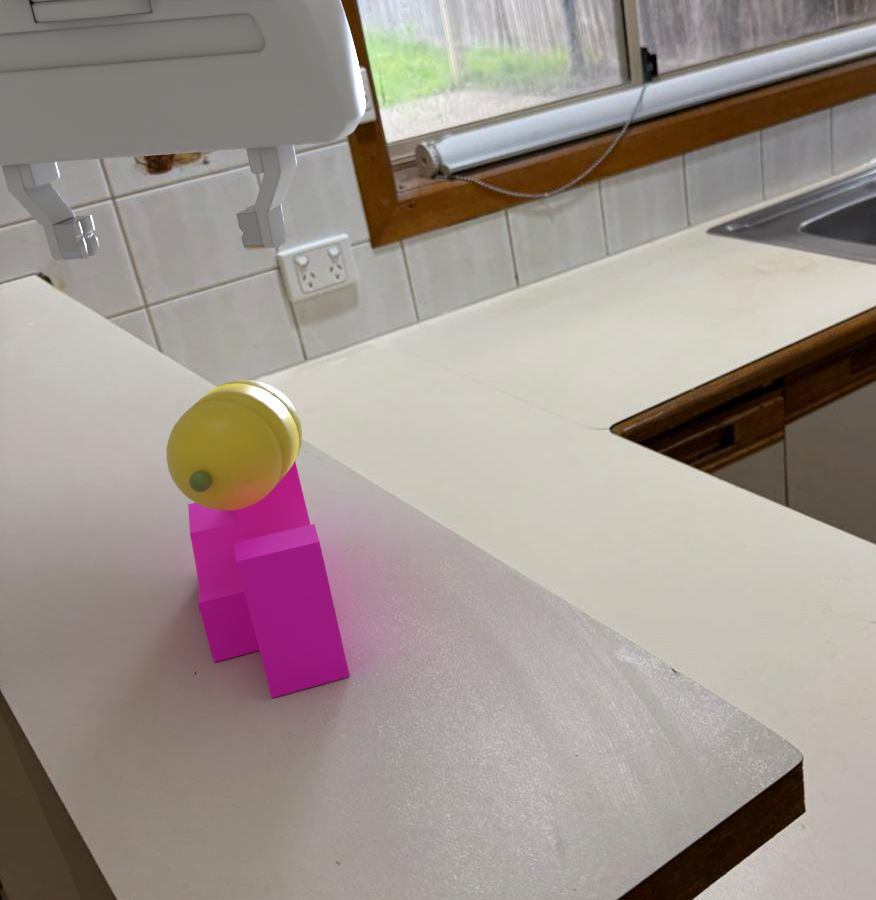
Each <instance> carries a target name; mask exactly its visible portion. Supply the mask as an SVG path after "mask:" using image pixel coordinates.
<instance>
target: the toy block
mask: <svg viewBox="0 0 876 900" xmlns="http://www.w3.org/2000/svg"><path fill="white" fill-rule="evenodd" d="M187 506H188V507H187V509H188V524H189V536H190V541H191V546H192V551H193V557H194V558H193V559H194V563H195V569H196V575H197V582H198V583H197V584H198V602H197V606H198V609H199V610H198V611H199V613H200V618H201V621H202V624H203V628H204V632H205V635H206V638H207V643H208V645H209V649H210V653H211V656H212V661H213V663H217V662H221V661H225V660H229V659H233V658H237V657H240V656H245V655H248V654H251V653H255V652H259V655H260V658H261V662H262V665H263V669H264V670H263V671H264V673H265V677H266V681H267V684H268V685H267V686H268V689H269V692H270V697H271V699H273V698H277V697H281V696H284V695H288V694H291V693H295V692H299V691H302V690H306V689H309V688H313V687H317V686H322V685H324V684H328V683H332V682H335V681H339V680H342V679H346V678H349V677H351V676H350V671H349V667H348V663H347V658H346V653H345V649H344V644H343V640H342V636H341V630H340V627H339V622H338V617H337V612H336V608H335V605H334V600H333V595H332V590H331V587H330V581H329V577H328V574H327V568H326V565H325V560H324V556H323V551H322V547H321V541H320V538H319V535H318V532H317V529H316V528H317V527H316V525H315V523H313V524H311V521H310V517H309V513H308V509H307V505H306V500H305V496H304V493H303V488H302V484H301V479H300V476H299V471H298V467H297V463H296V461H295V462H294V464H293V465H292V467H291V468H290V469H289V471H288V472H287V473H286V474H285V475H284V477H283V478H282V479H281V480H280V481H279V483H278V484H277V485H276V486H275V487H274V489H273V490H272V491H271V492H270V493H269V494H268V495H267V496H265V497H264V498H263V499H261V500H260V501H259V502H257V503H255V504H253V505H250V506H248V507H245V508H243V509H238V510H232V511H230V510H214V509H209V508H206V507H203V506H201V505H199V504H197V503H195V502H192V503H188V504H187Z"/></svg>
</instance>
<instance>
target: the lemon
mask: <svg viewBox="0 0 876 900" xmlns="http://www.w3.org/2000/svg"><path fill="white" fill-rule="evenodd" d="M302 440H303V426H302V421H301V419H300V415H299V413H298V411H297V410H296V408H295V406H294V404H293V403H292V401H290V399H289V398H288V397H287V396H286V395H285V394H284V393H282V392H281V391H280V390H278V389H277V388H275V387H274V386H273V385H269V384H267V383H264V382H261V381H258V380H253V379H238V380H233V381H228V382H225V383H221V384H220V385H218V386H216V387H214V388H212V389H210V390H209V391H208V392H207V393H206V394H205V395H203V396H202V397H201V398H200V399H199V400H198V401H196V402H195V403H194V404H193V405H192V406H190V407H189V408H188V410H186V411H184V413H183V414H182V415H181V416H180V417H179V418H178V419H177V421H176V423H174V425H173V426H172V429H171V431H170V434H169V437H168V440H167V445H166V450H165V451H166V452H165V453H166V463H167V468H168V472H169V475H170V477H171V479H172V482H174V484H175V486H176V487H177V489H178V490H179V491H180V492H181V493H182V494H183V495H184V496H185V497H186V498H188V499H189V500H190V501H192V503H197V504H199V505H201V506H203V507H206V508H209V509H214V510H230V511H232V510H238V509H243V508H245V507H248V506H250V505H253V504H255V503H257V502H259V501H260V500H261V499H263V498H264V497H265V496H267V495H268V494H269V493H270V492H271V491H272V490H273V489H274V487H275V486H276V485H277V484H278V483H279V481H280V480H281V479H282V478H283V477H284V475H285V474H286V473H287V472H288V471H289V469H290V468H291V467H292V465H293V464H294V462H296V460H297V458H298V456H299V454H300V451H301V447H302Z"/></svg>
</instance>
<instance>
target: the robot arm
mask: <svg viewBox="0 0 876 900" xmlns="http://www.w3.org/2000/svg"><path fill="white" fill-rule="evenodd" d="M343 6H344V5H343V4H342V0H0V167H1V169H2V173H3V176H4V180H5V184H6V186H7V190H8V192H9V193H10V194H11V195H12V196H13V197H14V198H15V199H16V201H18V203H19V204H20V205H21V206H22V207H23V208H24V209H25V211H27V212H28V214H29V215H30V216H31V217H32V218H33V219H34V220H35V221H36V222H37V223H38V225H40V226H42V227H43V230H44V234H45V238H46V240H47V245H48V247H49V251H50V255H51V257H52V258H53V260H54V261H56V262H57V261H59V262H60V261H62V262H64V261H65V262H66V261H75V260H76V261H77V260H86V259H89V258H90V257H92V256H95V255H97V254H98V253H99V249H100V244H99V240H98V237H97V236H96V235H95V234H94V233H95V230H96V227H95V224H94V220H93V216H92V215H76V214H75V213H74V211H73V210H72V209H71V207H70V206H69V205H68V203H67V202H66V201H65V200H64V198H63V197H62V196H61V194H60V193H59V192H58V190H57V189H56V188H55V187H54V185H53V184H52V183H53V182H56V181H58V180H59V179H60V178H61V175H60V171H59V168H58V164H57V163H63V162H75V161H76V162H77V161H78V162H79V161H89V160H91V161H92V160H105V159H106V160H107V159H119V158H120V159H121V158H134V157H135V158H136V157H149V156H161V155H177V154H191V153H205V152H206V153H207V152H220V151H233V150H245V151H246V155H247V159H248V164H249V169H250V172H251V173H252V174H253V175H256V174H257V175H259V174H263V177H262V180H261V184H260V187H259V190H258V193H257V196H256V200H255V204H254V205H249V206H248V207H246V208H245V209H243V210H240V211H239V212H237V213H236V219H237V224H238V229H239V230H240V231H242V235H241V243H242V245H243V248H244V249H245V250H246V251H252V250H270V249H271V250H272V249H273V250H275V249H278V248H279V247H281V246H283V245H284V244H286V241H287V229H286V223H285V218H284V214H283V207H282V204H283V203H284V202H285V198H286V196H287V195H288V194H287V193H288V191H289V188H290V185H291V182H292V180H293V177H294V174H295V172H296V169H297V166H298V161H297V155H296V149H295V146H307V145H308V146H309V145H319V144H320V145H321V144H330V143H335V142H337V141H340V140H342V139H345V138H347V137H348V136H349V135H352V133H354V132H355V130H356V129H357V127H358V126H359V124H360V123H361V120H362V118H363V117H364V114H365V111H366V97H365V90H364V85H363V79H362V75H361V69H360V65H359V60H358V56H357V52H356V51H357V50H356V47H355V44H354V39H353V36H352V33H351V29H350V25H349V22H348V19H347V16H346V12H345V9H344V7H343Z"/></svg>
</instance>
